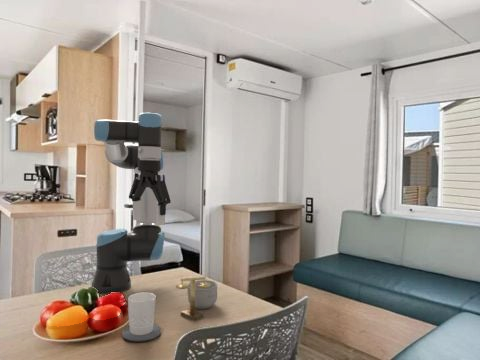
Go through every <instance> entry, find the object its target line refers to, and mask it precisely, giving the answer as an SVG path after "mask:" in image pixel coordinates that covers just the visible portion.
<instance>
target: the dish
mask: <svg viewBox="0 0 480 360" xmlns="http://www.w3.org/2000/svg"><path fill="white" fill-rule="evenodd" d="M161 332H162V327H161V326H160V325H158V324H157V323H153V331H152V332H150V333H148V334H145V335H134V334H131V333H130V327H129V326H126V327H125V328H124V329H122V333H121V334H122V337H123V338H124V339H125V340H127V341H131V342H135V343H136V342H137V343H139V342H142V343H143V342H147V341H150V340H153V339H155V338H157V337H158V336H159V335H161Z"/></svg>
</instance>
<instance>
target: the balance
mask: <svg viewBox="0 0 480 360" xmlns="http://www.w3.org/2000/svg"><path fill="white" fill-rule="evenodd" d="M205 279H206V280H207V278H206V276H204V275H203V276H194V277H183V278H180V282H181V283H179V284H176V285H175V288H176V289H179V290H186V289H187V288H188V284H187V283H184V282H188V281H189V283H190V303H189V308H187V309H185V310H181V311H180V316H181V317H184V318H186V319H189V320H191V321H194V322H196V321H199V320H202V319H203V318H205V317H204V316H205V314H204V313H203V312H200V311H197V310H195V309H196V308H195V281H200V280H204V281H205ZM198 287H200V288H208V287H210V283H205V282H203V283H199V284H198Z"/></svg>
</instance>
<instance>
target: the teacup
mask: <svg viewBox="0 0 480 360" xmlns="http://www.w3.org/2000/svg"><path fill="white" fill-rule="evenodd" d="M203 282H205V283H210V287H208V288H200V287H198V284H199V283H203ZM187 285H188V288H186V289H187V299H188V303H189V304H190V282H189V283H188V284H187ZM217 299H218V282H216V281H215V280H210V279H209V280H208V279H207V278H206V279H205V281H204V280H195V309H197V310H207V309H210V308H211V307H213V305H215V303H216V302H217Z"/></svg>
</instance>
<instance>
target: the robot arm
mask: <svg viewBox="0 0 480 360" xmlns="http://www.w3.org/2000/svg"><path fill="white" fill-rule="evenodd" d="M162 126H163V123H162V115H161V114H159V113H153V112H141V113H140V114H139V115H138V120H137V121H129V120H116V119H114V120H113V119H105V118H104V119H97V120H95V121H94V125H93V131H94V132H93V133H94V140H95V141H97V142H102V143H104V146H105V149H104V155H105V158H106V160H107V161H109V163H111V164H112V165H114V166H116V167H118V168H121V169H124V170H133V173H134V175H133V181H132V184H131V188H130V191H129V195H128V199H129V200H130V199H131V201H132V220H133V221H136V225H135V226H134V227H133V228H132V232H128V229H126V228H115V229H110V230H106V231H103V232H100V233H99V234H98V235H97V236H96V237H97V238H96V245H95V246H96V262H95V263H96V266H95V267H96V269H95V273H94V276H93V278H92V282H91V288H92V287H94V288H96V289H97V290H98V292H99V293H98V294H104V295H105V294H112V293H111V292H117V293H121V292H124V291H127V290H129V289H130V288H131V287H132V279H131V277H130V273H129V270H128V264H127V262H147V261H148V262H151V261H157V260H160V259H161V258H162V256H163V251H164V245H165V235H166V234H165V232H164V231H162V227H161V226H163V225H166V224H165V223H166V214H167V211H166V210H167V205H169V204H171V202H172V201H171V198H170V195H169V191H168V186H167V183H166V176H165V174H161V171H162V170H163V169H164V157H163V156H164V155H163V150H162V145H161V144H162Z"/></svg>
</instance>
